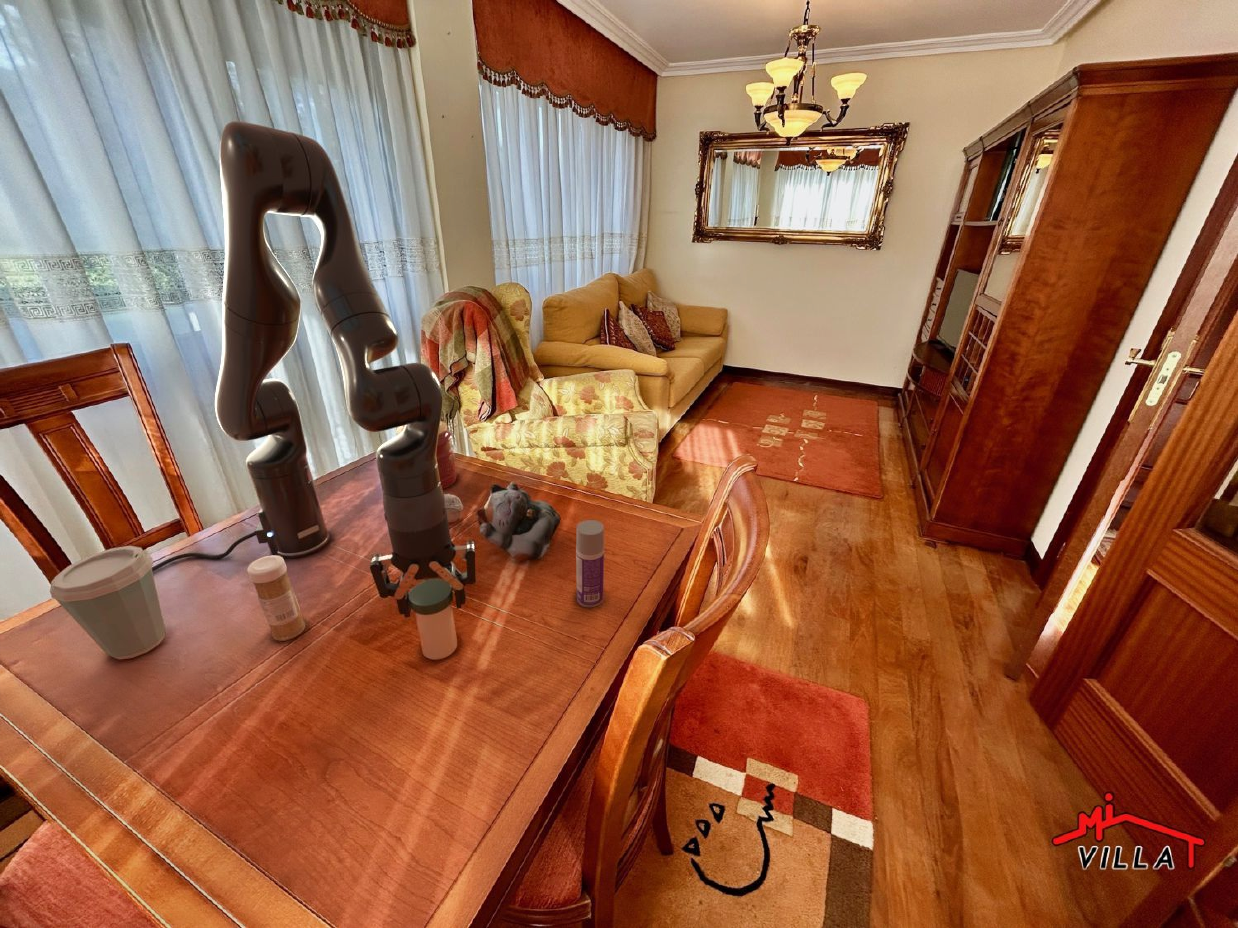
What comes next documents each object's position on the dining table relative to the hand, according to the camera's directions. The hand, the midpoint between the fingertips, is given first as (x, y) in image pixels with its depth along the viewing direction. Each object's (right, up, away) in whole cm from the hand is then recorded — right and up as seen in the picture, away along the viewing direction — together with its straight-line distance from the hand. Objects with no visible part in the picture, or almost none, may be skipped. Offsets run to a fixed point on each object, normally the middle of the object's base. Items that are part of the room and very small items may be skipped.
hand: (433, 609), depth 74 cm
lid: (0, +3, -1) cm, 3 cm away
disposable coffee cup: (-46, -6, +2) cm, 46 cm away
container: (+22, -2, +14) cm, 27 cm away
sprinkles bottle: (-25, -5, +5) cm, 26 cm away
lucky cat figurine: (+7, +5, +28) cm, 29 cm away
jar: (0, -7, +3) cm, 8 cm away
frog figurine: (-9, +9, +35) cm, 37 cm away
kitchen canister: (-20, +17, +50) cm, 57 cm away
